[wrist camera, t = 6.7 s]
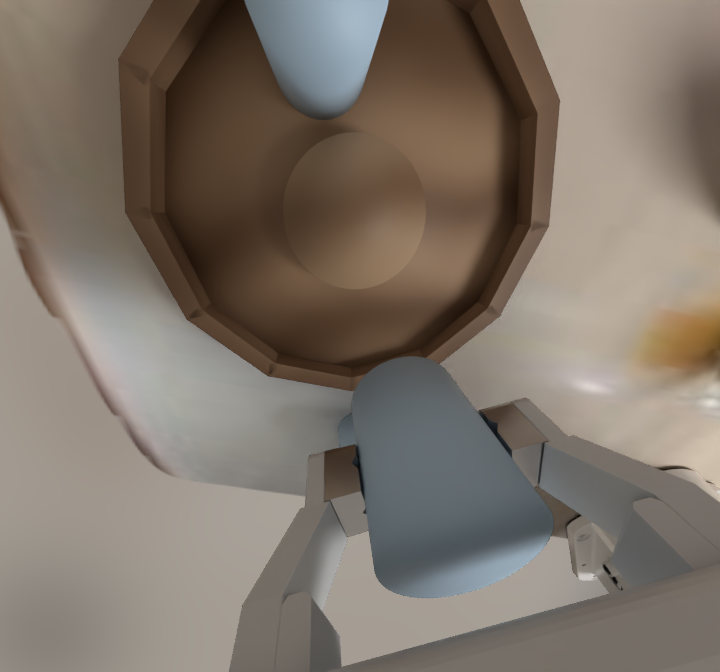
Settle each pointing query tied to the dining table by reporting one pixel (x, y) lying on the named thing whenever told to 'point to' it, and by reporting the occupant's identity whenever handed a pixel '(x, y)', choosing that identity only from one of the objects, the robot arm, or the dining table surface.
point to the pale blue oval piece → (439, 485)
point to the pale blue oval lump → (319, 49)
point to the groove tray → (339, 184)
